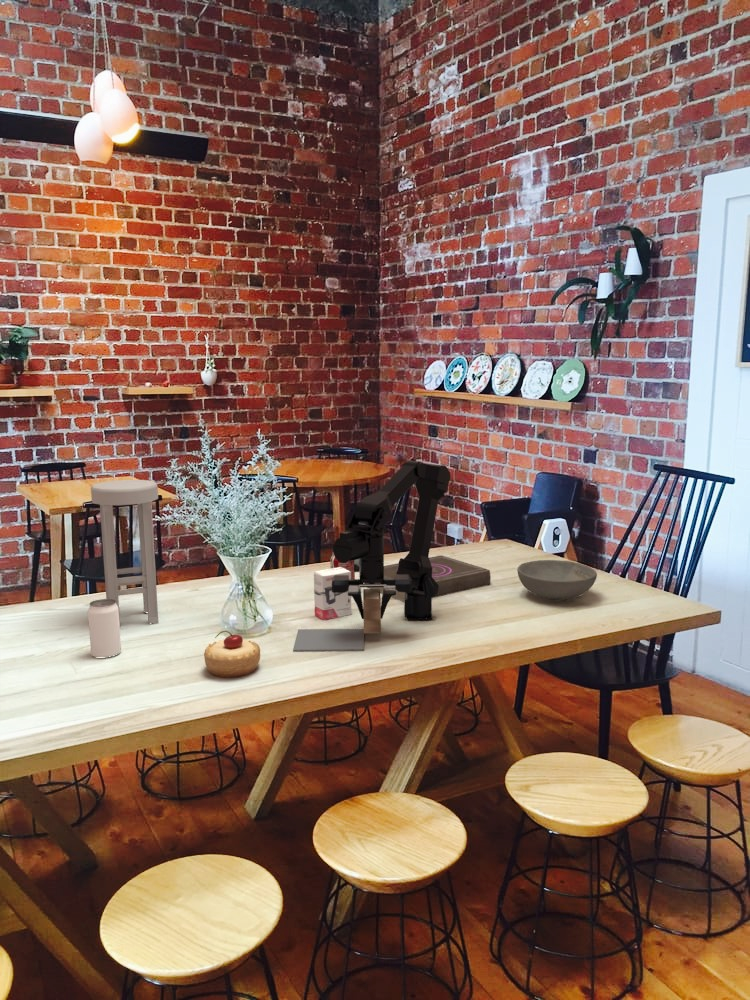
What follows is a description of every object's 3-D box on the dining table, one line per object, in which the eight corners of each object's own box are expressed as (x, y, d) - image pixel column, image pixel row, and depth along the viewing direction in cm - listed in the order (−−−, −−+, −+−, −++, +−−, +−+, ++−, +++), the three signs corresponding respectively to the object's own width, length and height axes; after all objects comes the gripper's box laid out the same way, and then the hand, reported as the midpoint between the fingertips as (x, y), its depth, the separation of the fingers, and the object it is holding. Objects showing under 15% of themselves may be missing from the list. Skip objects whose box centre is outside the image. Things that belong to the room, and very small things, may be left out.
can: (97, 648, 182) (94, 598, 180) (125, 648, 182) (122, 598, 180) (86, 658, 176) (82, 606, 174) (115, 659, 176) (112, 606, 174)
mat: (364, 630, 194) (364, 628, 193) (364, 650, 180) (364, 649, 180) (298, 630, 193) (298, 629, 193) (293, 651, 180) (293, 649, 179)
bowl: (569, 583, 233) (570, 557, 231) (611, 603, 213) (612, 574, 212) (504, 590, 226) (504, 563, 225) (541, 612, 207) (542, 582, 205)
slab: (380, 620, 194) (379, 588, 192) (381, 633, 185) (380, 599, 183) (363, 620, 194) (363, 588, 192) (363, 633, 185) (363, 599, 183)
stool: (168, 624, 199) (160, 486, 193) (102, 633, 193) (93, 490, 187) (159, 607, 213) (152, 477, 207) (98, 614, 207) (89, 481, 201)
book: (441, 570, 250) (441, 555, 249) (490, 586, 232) (490, 570, 231) (361, 586, 233) (360, 570, 232) (407, 605, 215) (407, 587, 214)
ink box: (323, 620, 201) (322, 575, 199) (314, 615, 205) (313, 571, 203) (352, 614, 206) (351, 570, 204) (342, 609, 210) (341, 566, 208)
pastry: (264, 678, 166) (264, 638, 164) (206, 684, 162) (206, 643, 161) (256, 656, 177) (256, 618, 175) (202, 661, 174) (201, 622, 172)
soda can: (359, 594, 223) (359, 552, 221) (339, 598, 219) (338, 556, 217) (346, 589, 229) (346, 548, 227) (326, 593, 225) (325, 551, 223)
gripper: (409, 546, 194) (409, 607, 197) (332, 547, 194) (334, 608, 197) (412, 557, 183) (412, 622, 186) (331, 558, 183) (332, 623, 186)
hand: (372, 618), depth 189 cm, fingers closed on slab, 4 cm apart
